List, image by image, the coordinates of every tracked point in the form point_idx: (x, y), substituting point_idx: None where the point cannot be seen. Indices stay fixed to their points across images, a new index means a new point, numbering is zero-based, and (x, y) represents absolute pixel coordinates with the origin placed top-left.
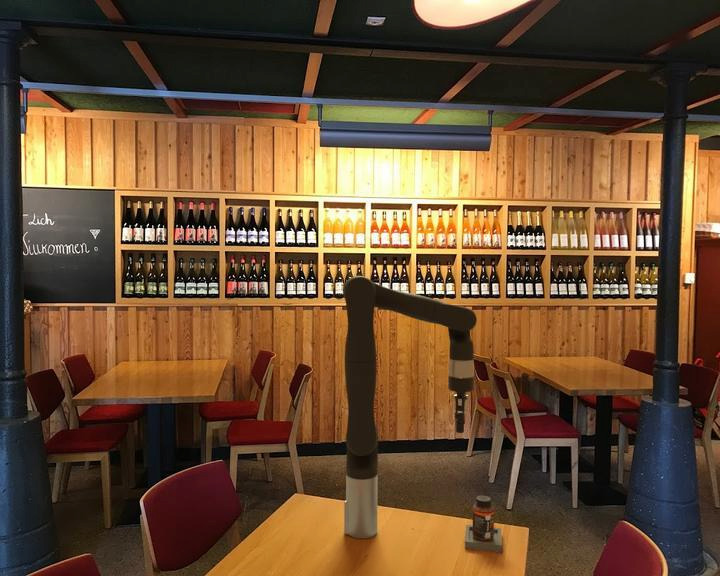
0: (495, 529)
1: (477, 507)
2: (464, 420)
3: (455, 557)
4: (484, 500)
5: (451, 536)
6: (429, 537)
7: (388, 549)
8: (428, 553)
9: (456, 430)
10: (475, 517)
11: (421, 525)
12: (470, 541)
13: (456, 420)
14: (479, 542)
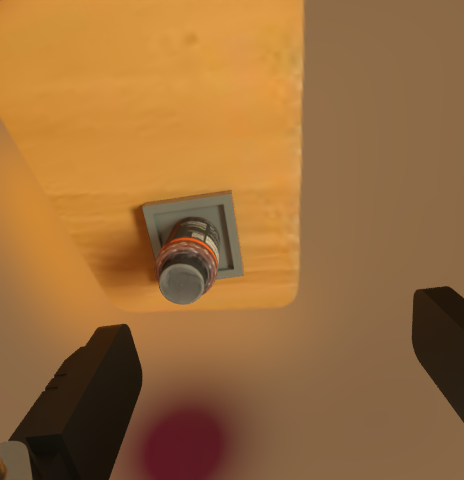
0: (233, 264)
1: (162, 260)
2: (437, 379)
3: (97, 189)
4: (163, 289)
5: (190, 159)
6: (160, 103)
7: (43, 5)
8: (81, 123)
9: (94, 337)
10: (164, 244)
11: (219, 60)
12: (147, 219)
13: (32, 433)
14: (152, 239)
